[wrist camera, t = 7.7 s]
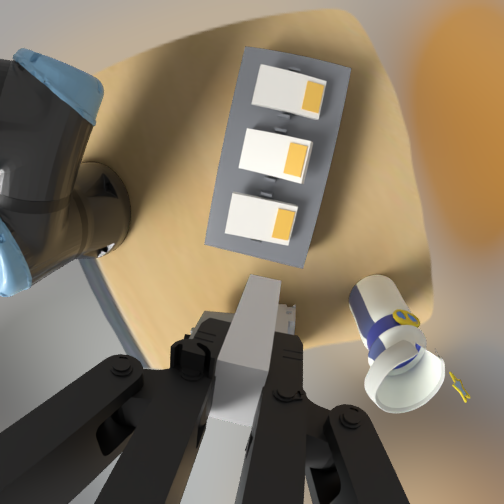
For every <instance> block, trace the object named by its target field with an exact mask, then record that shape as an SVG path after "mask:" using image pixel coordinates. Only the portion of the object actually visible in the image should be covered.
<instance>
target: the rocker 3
mask: <svg viewBox="0 0 504 504" xmlns="http://www.w3.org/2000/svg"><path fill="white" fill-rule="evenodd" d="M297 209H298V206H297V205H295V204H291V203H286V202H282V201H277V200H272V199H268V198H263V197H258V196H253V195H248V194H243V193H238V192H233V193H232V198H231V203H230V208H229V213H228V219H227V224H226V229H225V233H226V234H231V235H237V236H242V237H247V238H252V239H257V240H262V241H267V242H272V243H277V244H282V245H287V246H288V245H289V241H290V237H291V233H292V229H293V225H294V221H295V217H296V213H297Z"/></svg>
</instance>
